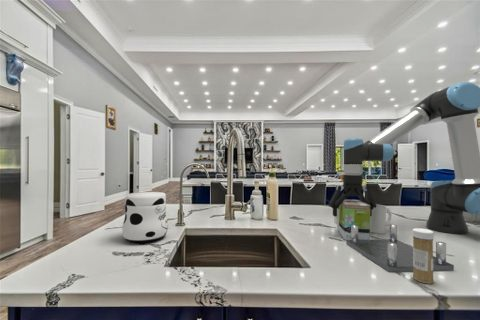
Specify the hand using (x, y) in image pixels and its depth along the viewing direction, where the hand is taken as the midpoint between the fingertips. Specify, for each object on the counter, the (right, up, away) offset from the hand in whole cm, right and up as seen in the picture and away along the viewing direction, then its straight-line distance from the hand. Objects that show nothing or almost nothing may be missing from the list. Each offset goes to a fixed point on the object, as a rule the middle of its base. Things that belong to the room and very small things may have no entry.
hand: (352, 224), depth 104 cm
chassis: (+4, -5, -22) cm, 23 cm away
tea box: (0, -5, 0) cm, 5 cm away
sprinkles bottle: (+1, -5, -39) cm, 39 cm away
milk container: (-87, -5, -5) cm, 87 cm away
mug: (+16, -5, +6) cm, 18 cm away
